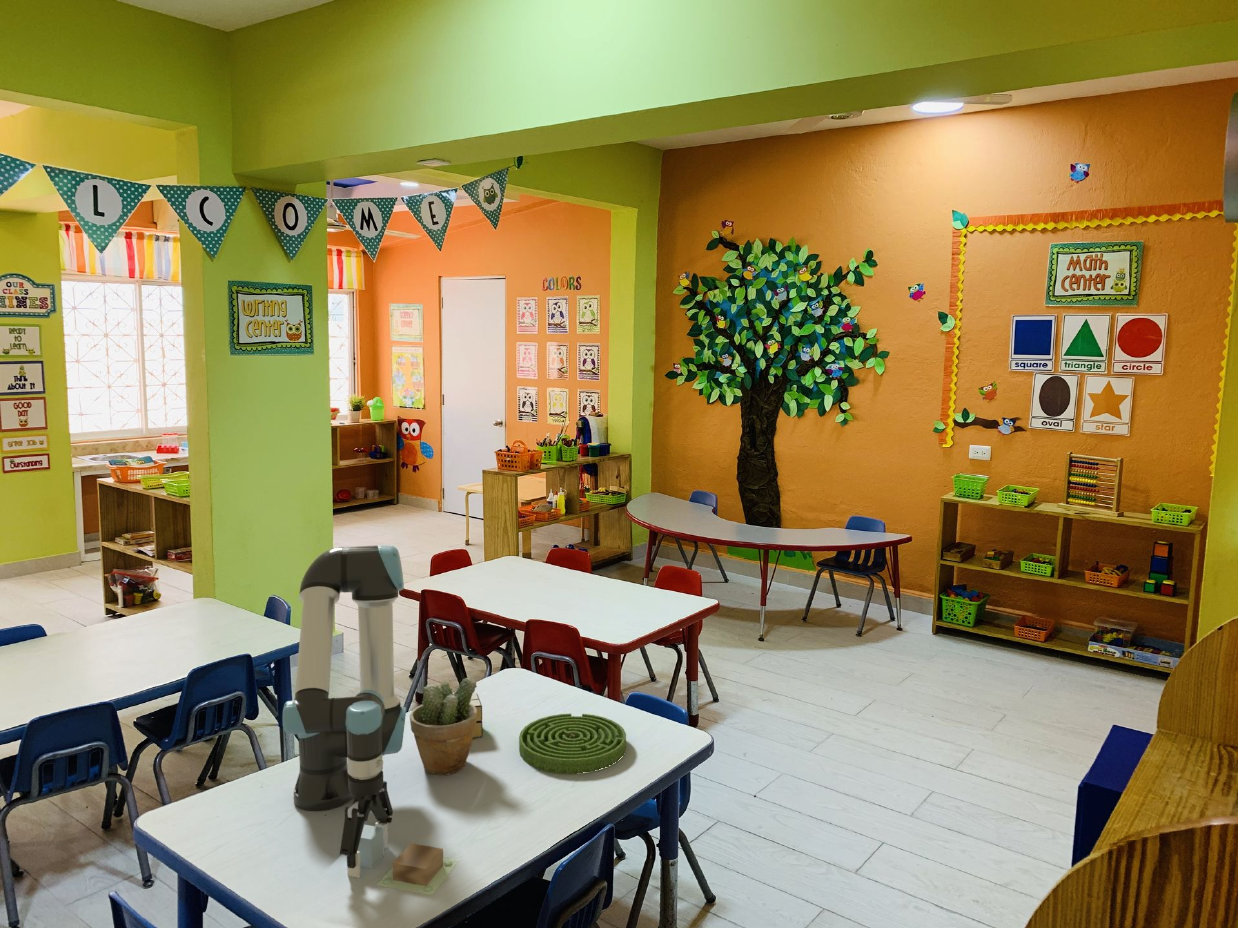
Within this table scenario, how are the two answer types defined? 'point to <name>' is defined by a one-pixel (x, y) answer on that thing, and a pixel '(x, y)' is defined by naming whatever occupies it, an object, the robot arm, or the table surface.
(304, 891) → the table surface
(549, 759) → the maze
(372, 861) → the column brick
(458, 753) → the potted plant
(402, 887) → the plate
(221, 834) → the table surface
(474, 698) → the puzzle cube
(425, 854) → the base brick
